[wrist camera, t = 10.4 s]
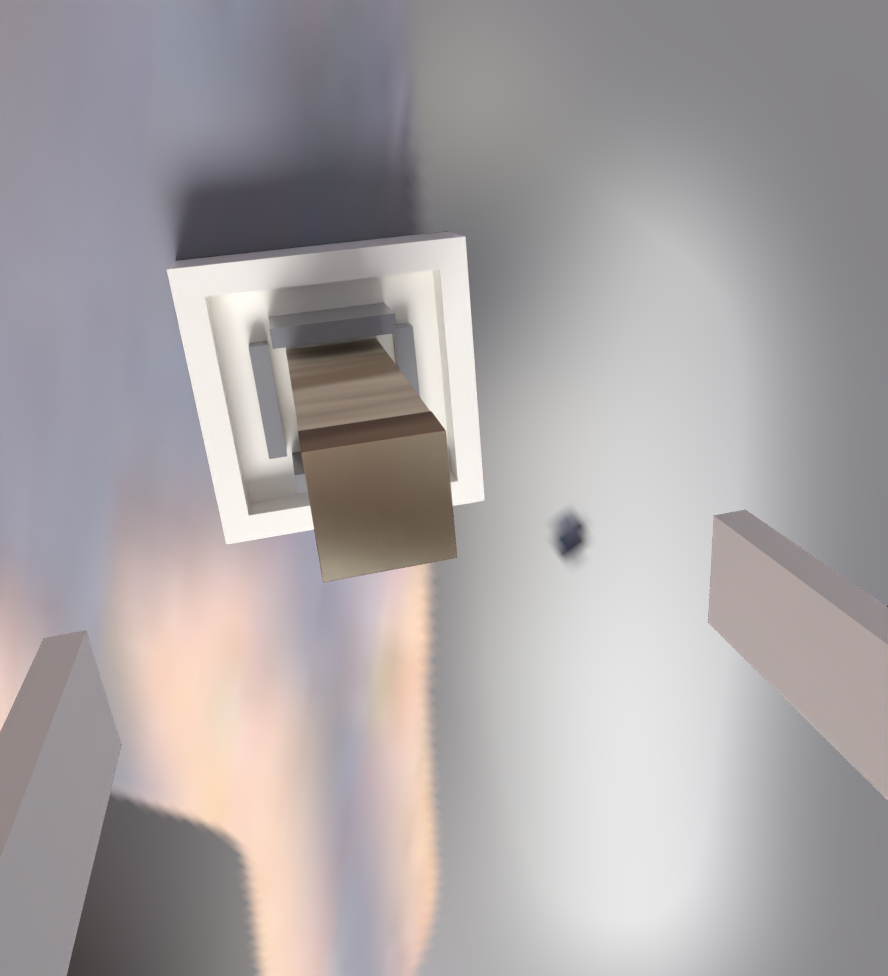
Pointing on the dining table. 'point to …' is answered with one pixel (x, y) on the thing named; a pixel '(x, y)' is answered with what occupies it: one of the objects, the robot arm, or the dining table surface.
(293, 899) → the dining table surface
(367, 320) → the white square frame
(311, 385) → the wood grain beam
